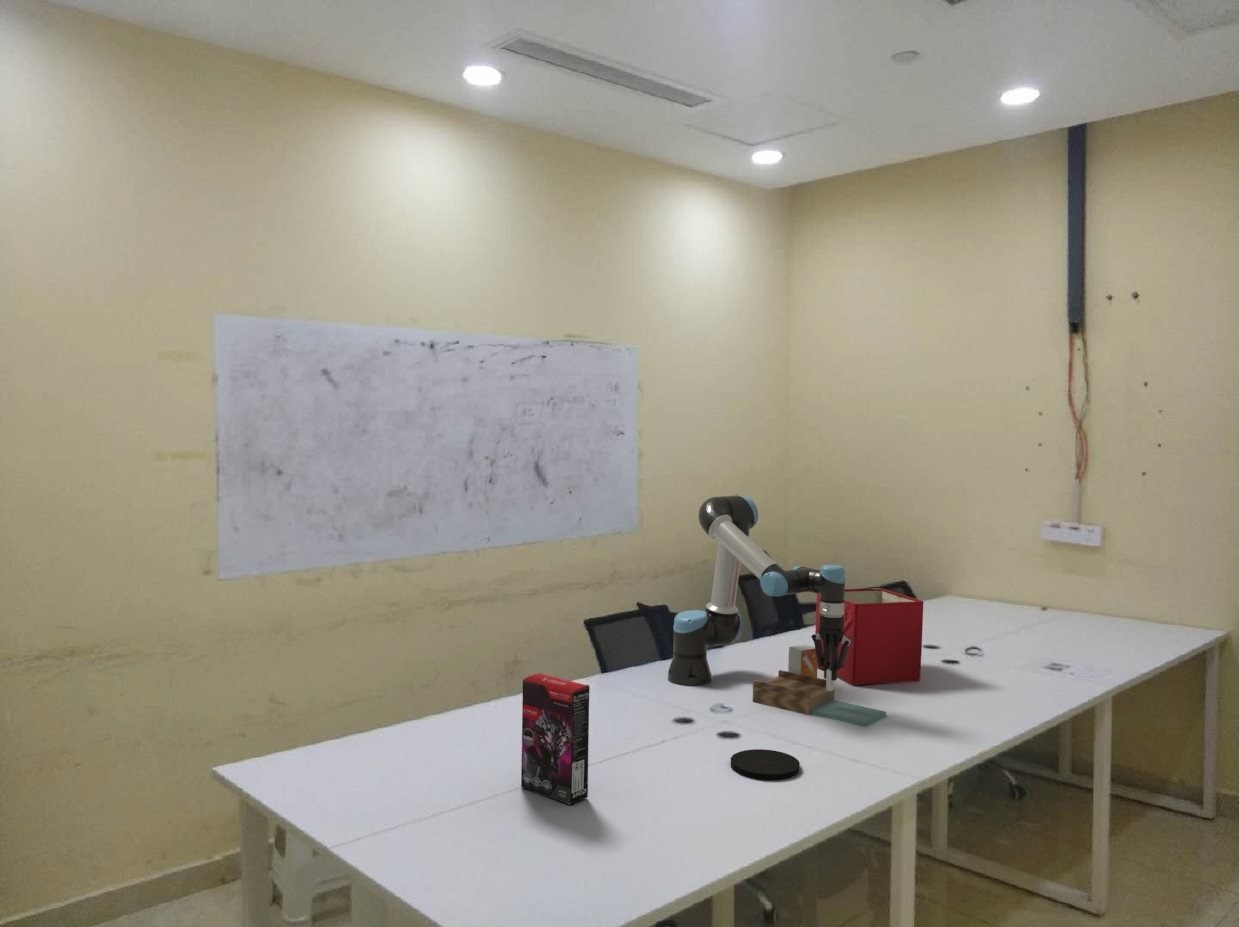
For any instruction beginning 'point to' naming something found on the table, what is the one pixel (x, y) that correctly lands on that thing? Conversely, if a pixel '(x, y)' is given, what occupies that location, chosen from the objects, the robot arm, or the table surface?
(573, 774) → the graphics card box
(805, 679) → the walnut case
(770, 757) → the wireless charger
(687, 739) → the table surface
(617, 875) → the table surface
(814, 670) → the small box
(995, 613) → the table surface
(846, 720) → the cover plate
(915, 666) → the storage cube
